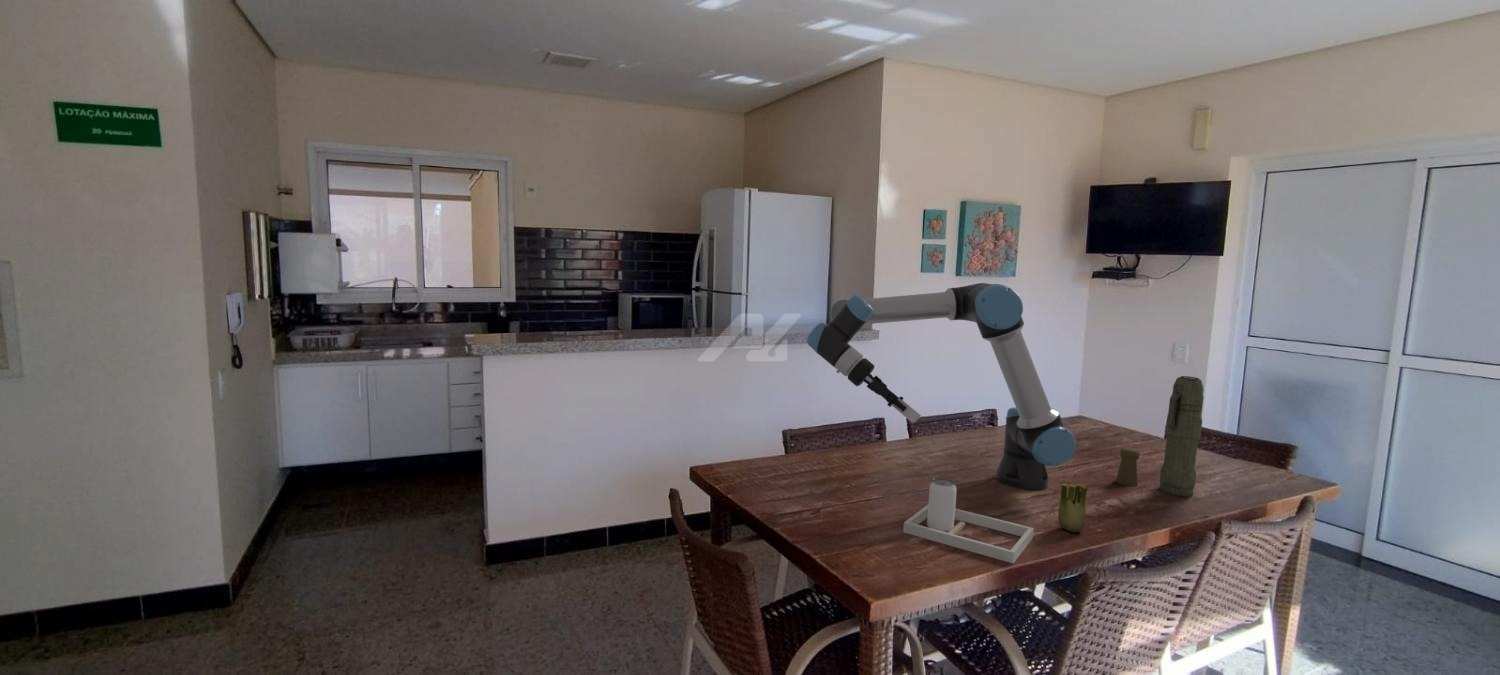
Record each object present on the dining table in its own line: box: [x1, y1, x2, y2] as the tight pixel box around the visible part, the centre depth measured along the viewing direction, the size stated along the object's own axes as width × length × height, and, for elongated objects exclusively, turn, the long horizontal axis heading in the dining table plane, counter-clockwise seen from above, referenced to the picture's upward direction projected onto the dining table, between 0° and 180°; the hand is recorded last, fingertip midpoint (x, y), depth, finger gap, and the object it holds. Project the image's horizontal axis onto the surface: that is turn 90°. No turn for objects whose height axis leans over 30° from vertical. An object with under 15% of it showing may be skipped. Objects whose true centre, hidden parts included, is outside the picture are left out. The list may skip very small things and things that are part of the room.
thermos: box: [1158, 375, 1205, 498], centre depth 201 cm, size 9×12×35 cm
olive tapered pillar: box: [1115, 447, 1140, 487], centre depth 209 cm, size 6×6×11 cm
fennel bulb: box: [1058, 483, 1088, 534], centre depth 170 cm, size 6×5×12 cm
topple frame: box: [902, 504, 1035, 564], centre depth 165 cm, size 26×18×2 cm
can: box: [926, 477, 957, 533], centre depth 168 cm, size 6×6×12 cm
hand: (916, 419), depth 178 cm, fingers open, 13 cm apart
